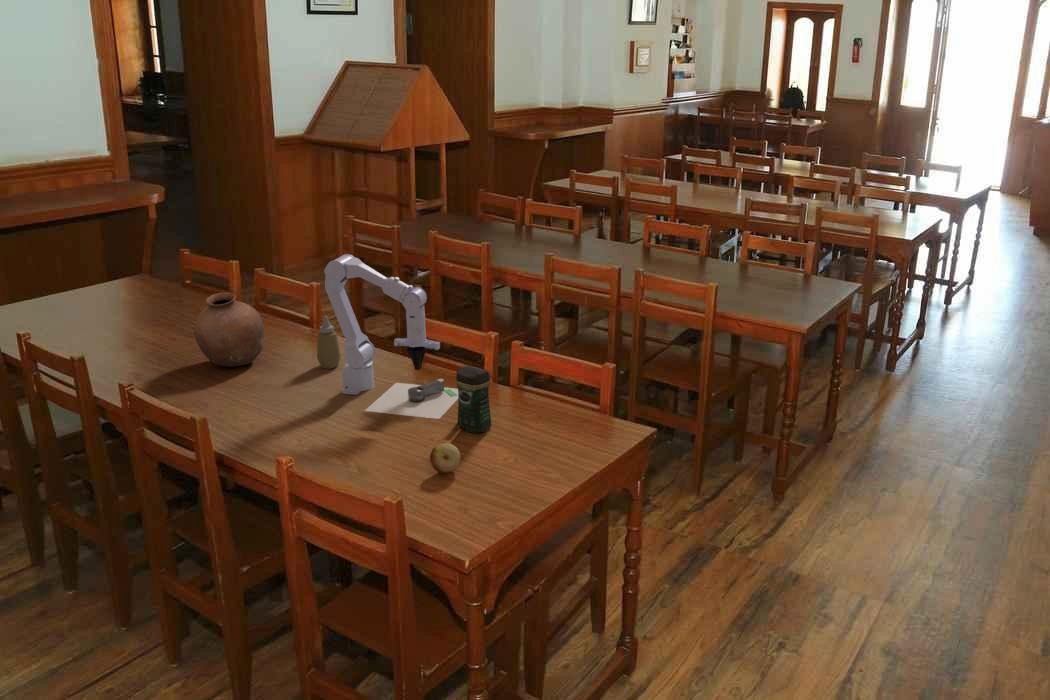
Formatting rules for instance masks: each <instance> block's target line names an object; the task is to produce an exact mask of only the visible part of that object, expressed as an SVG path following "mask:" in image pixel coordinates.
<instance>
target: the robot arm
mask: <svg viewBox="0 0 1050 700" xmlns="http://www.w3.org/2000/svg"><path fill="white" fill-rule="evenodd" d="M323 272H324V275H325V277H324V289H325V291H326V294H327V297H328V299H329V302H330V304H331V306H332V309H333V312H334V313H335V316H336V319H337V321H338V324H339V326H340V328H341V332H342V334H343V336H344V337H343V338H345V342H344V347H343V350H344V352H345V361H346V363H345V364H344V366H343V368H342V370H341V376H342V377H341V378H342V389H343V391H342V392H341V393H342V394H346V395H353V396H354V395H355V396H356V395H358V394H359V393H361V392H364V391H370V390H372V389H373V388H374V387H375V379H374V365H373V363H374V362H373V358H374V357H375V356H376V348H375V345H374V344H373V343H372V342H371V341H370V340H369V337H368V336H367V335H366V334H365V333H363V332H362V330H361V327H360V325H359V322H358V320H357V317H356V315H355V312H354V310H353V308H352V305H351V301H350V300H349V297H348V294H347V292H346V289H345V285H346V283H347V281H348V279H353V278H360V279H362V280H365V281H366V282H369V283H371V284H372V285H376V286H378V287H380V288H381V289H382V291H383V294H385V295H387V296H389V297H391V299H394V300H396V301H398V302H399V303H401V304H402V306H403V307H404V309H405V319H406V320H405V321H406V333H407V334H406V335H407V336H406V337H405V338H399V337H398V338H395V339H394V340H393V345H394V347H400V346H402V347H407V349H406V353H407V354H408V355H409V357H410V359H411V361H412V364H413V367H414V370H415V371H420V370H421V369H422V366H423V361H424V357H425V354H426V352H427V350H428V349H430V350H431V349H434V350H436V351H438V350H440V348H441V342H440V341H436V340H430V339H427V335H426V334H427V330H426V313H425V312H426V311H425V309H426V308H425V304H426V302H427V300H428V296H427V295H428V294H427V293H426V291H425V290H424V289H423V288H422V287H420V286H416V287H414V286H413V285H412V284H407V283H406V282H404V281H401V280H400V277H398V276H395V277H394V276H390V277H387V276H385V275H383V274H382V273H380V272H378V271H377V270H375V269H374V268H372V267H370V266H369V265H367V264H365V263H364V262H363V261H362V260H361V259H360V258H358V257H355V256H354V255H352V254H349V253H344V254H342V255H341V256H339V257H337V258H336V259H334V260H331V261H329V262H328V263H327V264H326V266H325V268H324V269H323Z"/></svg>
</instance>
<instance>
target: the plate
mask: <svg viewBox="0 0 1050 700" xmlns="http://www.w3.org/2000/svg"><path fill="white" fill-rule="evenodd" d="M421 385H422V384H415V383H414V384H413V383H405V382H404V383H403V382H395V383H394V384H393V385H392V386H391V387H390V388H389V389H387V390H386V391H385V392H383V394H381V396H379V398H377V399H376V400H375V401H374V402H373V403H372V404H370V405H369V406H368V407H367V408H366V409H364V412H371V413H381V414H390V415H399V416H406V417H408V416H409V417H417V418H427V419H434V420H440V419H441V418H442V417H443V416H444V414H446V413H447V411H448V410H449V409H450V408H451V407H452V406H453V405H454V404H455V403H456V402H457V401H458V388H454V387H453V388H452V387H445V386H444V391H443V392H439V393H436V394H433V395H430V396H426V397H425V399H424V400H423V401H421V402H411V401H409V400H408V389H410V388H413V387H417V386H421Z"/></svg>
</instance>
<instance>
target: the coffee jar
mask: <svg viewBox="0 0 1050 700" xmlns="http://www.w3.org/2000/svg"><path fill="white" fill-rule="evenodd" d="M455 382H456V386H457V389H458V399H457V401H458V402H457V406H458V407H457V424H458V426H459V428H460V429H462V430H464V431H467V432H470V433H473V434H478V433H483V432H487V431H488V430H489V429H490V428H491V427H492V416H491V415H492V414H491V408H490V397H489V387H490V383H491V377H490V372H489V370H486V369H483V368H479V367H476V366H472V365H469V364H466V365H464V366H460V367H459V368H458V369H457V371H456V376H455Z"/></svg>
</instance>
